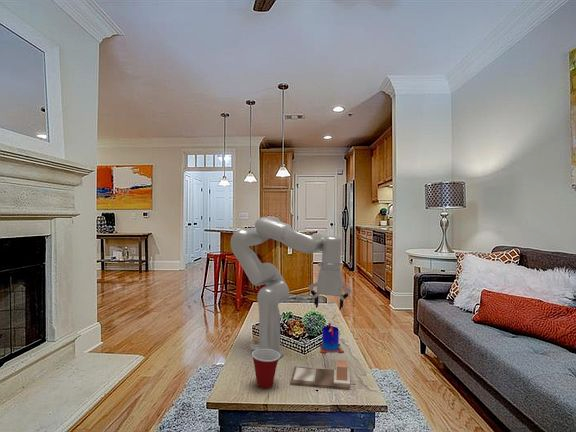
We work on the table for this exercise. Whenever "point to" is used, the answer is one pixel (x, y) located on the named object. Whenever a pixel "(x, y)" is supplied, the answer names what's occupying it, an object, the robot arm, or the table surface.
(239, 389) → the table surface
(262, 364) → the plastic cup
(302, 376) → the board
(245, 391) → the table surface
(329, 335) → the fantasy tower
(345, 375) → the stub
